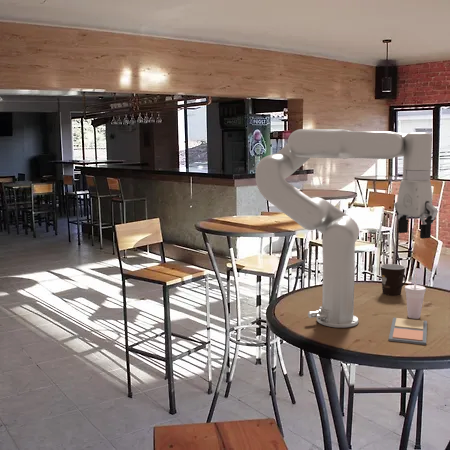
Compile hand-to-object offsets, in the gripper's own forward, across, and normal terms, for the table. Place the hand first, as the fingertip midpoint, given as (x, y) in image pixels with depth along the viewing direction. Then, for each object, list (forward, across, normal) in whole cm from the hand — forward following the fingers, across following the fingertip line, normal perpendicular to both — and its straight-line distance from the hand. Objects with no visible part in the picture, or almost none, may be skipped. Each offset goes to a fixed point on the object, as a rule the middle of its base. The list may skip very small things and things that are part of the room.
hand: (413, 235), depth 167 cm
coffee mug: (+28, -33, +19) cm, 48 cm away
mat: (+28, +2, -2) cm, 28 cm away
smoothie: (+28, -9, +9) cm, 31 cm away
